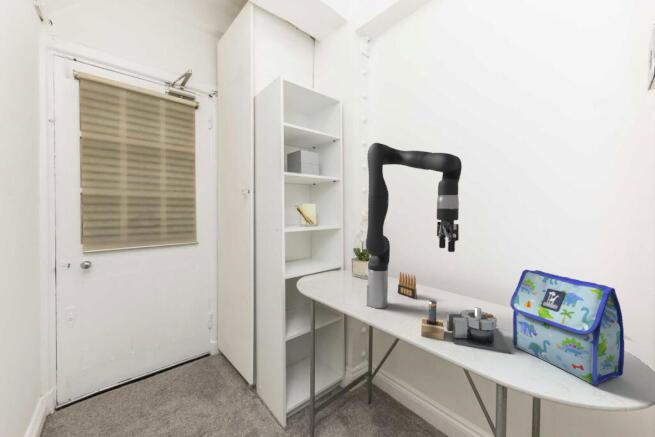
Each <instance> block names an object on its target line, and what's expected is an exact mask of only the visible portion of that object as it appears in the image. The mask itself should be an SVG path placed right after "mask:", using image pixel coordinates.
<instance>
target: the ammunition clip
mask: <svg viewBox="0 0 655 437" xmlns="http://www.w3.org/2000/svg"><path fill="white" fill-rule="evenodd" d="M398 274H399V276H398V277H399V278H398V285H397V294H398V293H399V294H398V295H401V296H404V297H407V298H409V299H412V300H416V299H417V297H418V296H417V293H418V292H417V281H416V280H417V279H416V276H415V274H414V275H413V274H410V273H408V274H407V273H405V272H403V271H400V272H399V273H398Z"/></svg>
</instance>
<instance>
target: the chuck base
mask: <svg viewBox="0 0 655 437" xmlns="http://www.w3.org/2000/svg"><path fill="white" fill-rule="evenodd" d="M474 310H475V319H479V320H481V311H482V308H481V307H474ZM451 332H452V334H453V331H451ZM452 337H453V338H452V339H453V344H454V345H459V346H465V347H470V348H476V349H481V350H487V351H493V352H497V353H504V354H511V349H510V347H509V346H508V344H507V342H506V340H505V338H504V336H503V335H502V333H501V331H500V330H499V328H497V327H496V328H495V329H492V330H481V329H475V328H472V327H469V326H467V338H455V337H454V336H453V335H452Z"/></svg>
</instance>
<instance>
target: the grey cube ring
mask: <svg viewBox="0 0 655 437" xmlns="http://www.w3.org/2000/svg"><path fill="white" fill-rule="evenodd" d="M497 320H498V319H497V317H495V316H494V314H492V313H488V312H485V311H482V310H481V320H479V319H475V309H463V310H462V311H460V312H458V311H456V312H455V311H454V312H453V311H447V312H446V330H447V331H448V332H452V331H453V333H452V337H453V336H454V337H455V338H467V326H469V327H472V328H475V329H481V330H492V329H495V328H497V323H498V322H497Z"/></svg>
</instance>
